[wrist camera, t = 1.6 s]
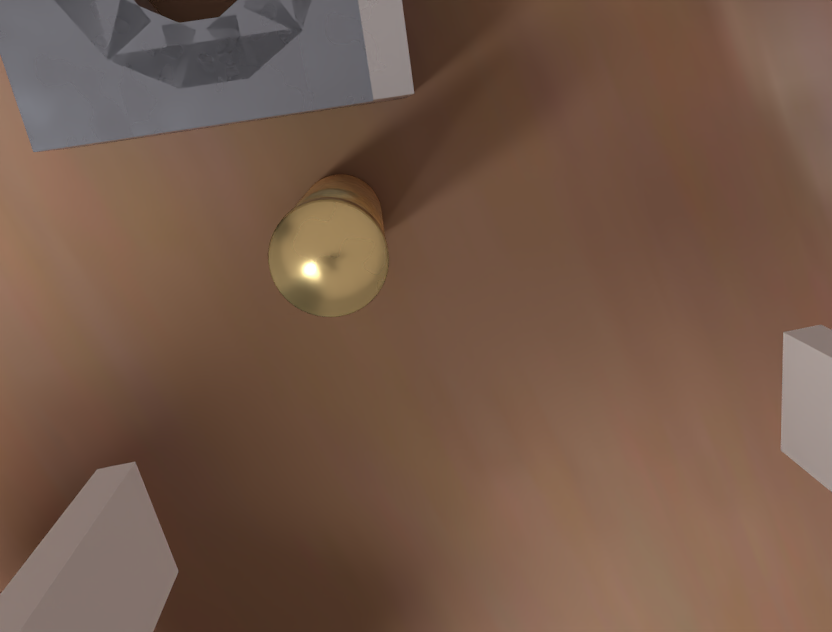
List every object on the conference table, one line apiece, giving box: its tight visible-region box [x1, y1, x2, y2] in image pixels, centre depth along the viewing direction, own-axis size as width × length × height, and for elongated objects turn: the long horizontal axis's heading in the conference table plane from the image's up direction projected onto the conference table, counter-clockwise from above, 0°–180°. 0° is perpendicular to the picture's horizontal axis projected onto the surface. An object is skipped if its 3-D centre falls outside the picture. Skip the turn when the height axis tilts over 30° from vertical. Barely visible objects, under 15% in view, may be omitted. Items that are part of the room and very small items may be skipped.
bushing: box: [268, 174, 389, 317], centre depth 25 cm, size 4×4×10 cm
